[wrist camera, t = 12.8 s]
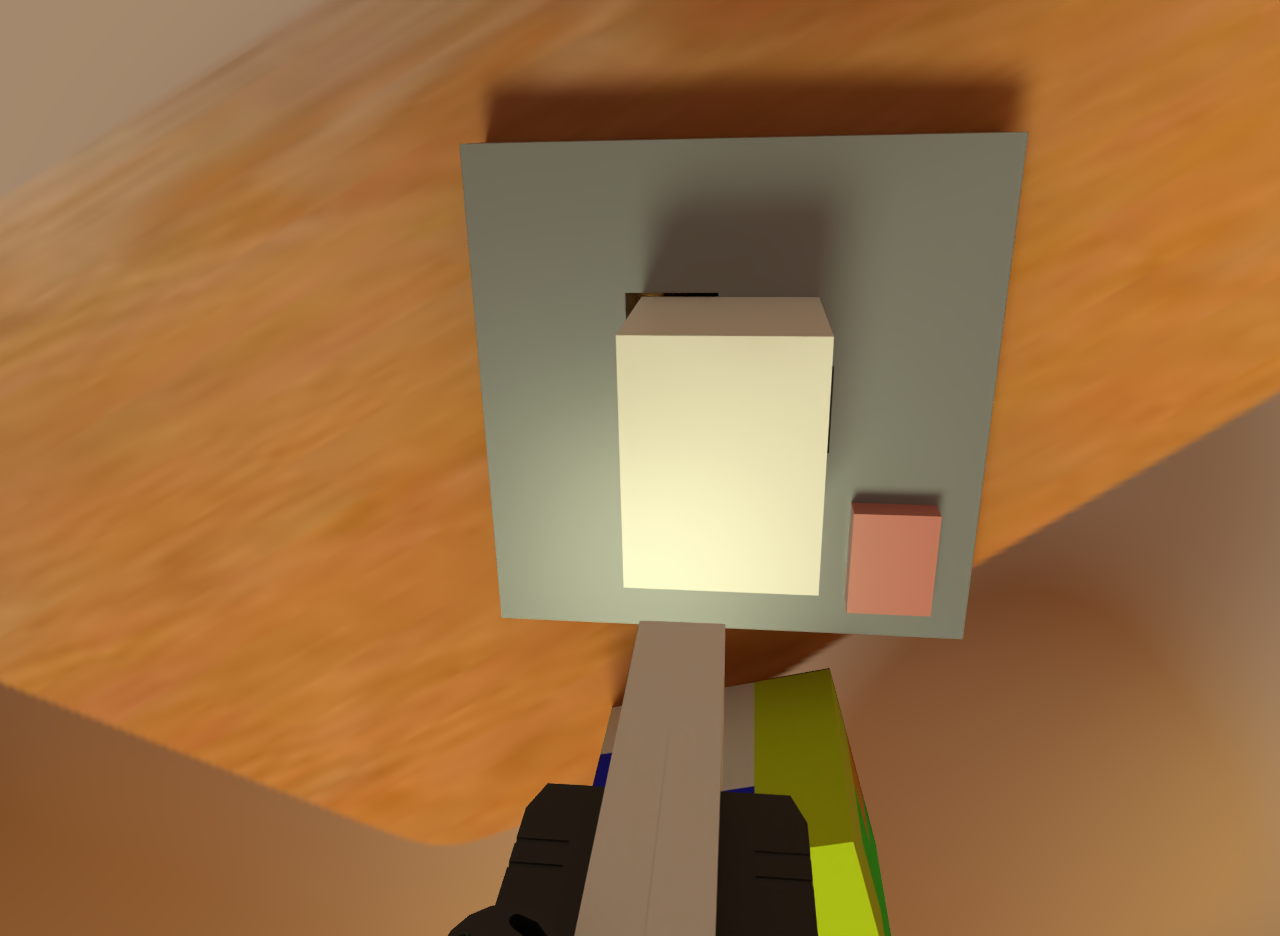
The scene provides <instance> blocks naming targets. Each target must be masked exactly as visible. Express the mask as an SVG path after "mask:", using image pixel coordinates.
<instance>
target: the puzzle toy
mask: <svg viewBox="0 0 1280 936" xmlns="http://www.w3.org/2000/svg"><path fill="white" fill-rule="evenodd" d="M621 708H622V706H617V707H612V710H611V714H610V718H609V722H608V726H607V730H606V734H605V738H604V742H603V746H602V750H601V754H600V758H599V762H598V767H597V771H596V775H595V779H594V783H593V786H601V787H605V785H606V781H607V776H608V771H609V766H610V761H611V757H612V752H613V747H614V742H615V737H616V732H617V728H618V723H619V718H620V713H621ZM722 791H724V792H741V793H758V794H775V795H790V796H791V797H792V799H793V801H794V802H795V804H796V805H797V807H798V809H799V810H800V812H801V813H802V815H803V817H804V818H805V820H806V821H807V823H808V833H809V843H810V854H811V855H810V859H811V865H812V875H813V886H814V897H815V907H816V918H817V929H818V936H891V933H890V927H889V921H888V915H887V909H886V903H885V897H884V891H883V885H882V880H881V874H880V867H879V861H878V856H877V849H876V844H875V840H874V836H873V833H872V829H871V825H870V821H869V817H868V813H867V809H866V806H865V802H864V798H863V794H862V791H861V787H860V783H859V779H858V775H857V771H856V767H855V764H854V760H853V756H852V752H851V748H850V744H849V741H848V737H847V733H846V729H845V725H844V721H843V718H842V714H841V710H840V706H839V702H838V698H837V695H836V691H835V687H834V683H833V680H832V676H831V672H830V668H827V669H821V670H815V671H809V672H804V673H798V674H793V675H787V676H781V677H779V678H775V679H770V680H764V681H758V682H753V683H747V684H741V685H736V686H730V687H725V688H724V742H723V780H722Z"/></svg>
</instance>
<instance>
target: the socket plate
mask: <svg viewBox="0 0 1280 936" xmlns="http://www.w3.org/2000/svg"><path fill="white" fill-rule="evenodd" d="M1027 138H1028V132H960V133H913V134H866V135H818V136H771V137H723V138H676V139H629V140H581V141H534V142H487V143H469V144H459V145H460V156H461V167H462V178H463V189H464V201H465V212H466V223H467V234H468V245H469V257H470V268H471V279H472V290H473V301H474V312H475V324H476V335H477V346H478V357H479V368H480V380H481V391H482V402H483V413H484V424H485V435H486V447H487V458H488V469H489V480H490V491H491V503H492V514H493V525H494V536H495V547H496V558H497V570H498V581H499V592H500V603H501V614H502V618H520V619H542V620H563V621H585V622H606V623H627V624H639V621H665V622H691V623H717V624H725V628H735V629H756V630H778V631H799V632H821V633H842V634H865V635H886V636H908V637H928V638H950V639H951V638H952V639H963V632H964V624H965V616H966V609H967V601H968V593H969V586H970V578H971V570H972V563H973V555H974V547H975V539H976V532H977V524H978V516H979V509H980V501H981V493H982V485H983V478H984V470H985V462H986V455H987V447H988V439H989V431H990V424H991V416H992V408H993V401H994V393H995V385H996V378H997V370H998V362H999V354H1000V347H1001V339H1002V331H1003V324H1004V316H1005V308H1006V300H1007V293H1008V285H1009V277H1010V270H1011V262H1012V254H1013V246H1014V239H1015V231H1016V223H1017V216H1018V208H1019V200H1020V192H1021V185H1022V177H1023V169H1024V162H1025V154H1026V146H1027ZM636 293H718V297H819V298H820V301H821V303H822V306H823V309H824V311H825V314H826V317H827V319H828V322H829V325H830V327H831V330H832V333H833V335H834V345H833V361H832V378H831V395H830V412H829V429H828V445H827V462H826V479H825V496H824V512H823V529H822V546H821V563H820V579H819V596H814V595H790V594H766V593H742V592H718V591H694V590H670V589H646V588H624V584H623V552H622V521H621V489H620V457H619V425H618V393H617V361H616V334H617V333H618V331H619V330H620V328H621V327H622V325H623V324H624V322H625V321H626V319H627V318H628V316H629V315H630V313H631V312H632V310H633V309H634V307H635V306H636V304H637V300H636Z"/></svg>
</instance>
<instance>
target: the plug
mask: <svg viewBox="0 0 1280 936" xmlns="http://www.w3.org/2000/svg"><path fill="white" fill-rule="evenodd" d="M833 345H834V335H833V333H832V330H831V327H830V325H829V322H828V319H827V317H826V314H825V311H824V309H823V306H822V303H821V301H820V298H819V297H641V298H640V300H639V301H638V303H637V304H636V306H635V307H634V309H633V310H632V312H631V313H630V315H629V316H628V318H627V319H626V321H625V322H624V324H623V325H622V327H621V328H620V330H619V331H618V333H617V334H616V361H617V393H618V425H619V457H620V489H621V521H622V552H623V584H624V588H646V589H670V590H694V591H718V592H742V593H766V594H790V595H814V596H819V579H820V563H821V546H822V529H823V512H824V496H825V479H826V462H827V445H828V429H829V412H830V395H831V378H832V361H833Z"/></svg>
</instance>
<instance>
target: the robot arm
mask: <svg viewBox="0 0 1280 936" xmlns="http://www.w3.org/2000/svg"><path fill="white" fill-rule="evenodd" d="M724 681H725V624H717V623H691V622H665V621H639V626H638V631H637V636H636V641H635V645H634V650H633V655H632V660H631V665H630V670H629V674H628V679H627V684H626V689H625V694H624V699H623V703H622V708H621V713H620V718H619V723H618V728H617V732H616V737H615V742H614V747H613V752H612V757H611V761H610V766H609V771H608V776H607V781H606V785H605V787H601V786H584V785H568V784H551V783H548V784H547V785H546V786H545V787H544V788H543V789H542V791H541V792H540V793H539V794H538V795H537V796H536V797H535V798H534V799H533V801H532V802H531V803H530V804H529V805H528V806H527V807H526V810H525V813H524V816H523V819H522V822H521V825H520V829H519V832H518V835H517V842H516V843H515V844H514V847H513V851H512V854H511V857H510V860H509V867H507V870H506V873H505V876H504V879H503V882H502V886H501V889H500V892H499V895H498V898H497V901H496V905H495V906H490V907H488V908H485V909H483V910H481V911H478V912H476V913H473V914H471V915H469V916H468V917H467V918H465V919H464V920H463V921H462V922H461V923H459V924H458V925H457V926H456V927H455V928H453V929H452V930H451V931H450V933H449V935H448V936H818V929H817V918H816V907H815V897H814V886H813V875H812V865H811V859H810V855H811V854H810V843H809V833H808V823H807V821H806V820H805V818H804V817H803V815H802V813H801V812H800V810H799V809H798V807H797V805H796V804H795V802H794V801H793V799H792V797H791V796H790V795H775V794H758V793H741V792H724V791H722V780H723V742H724Z"/></svg>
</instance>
